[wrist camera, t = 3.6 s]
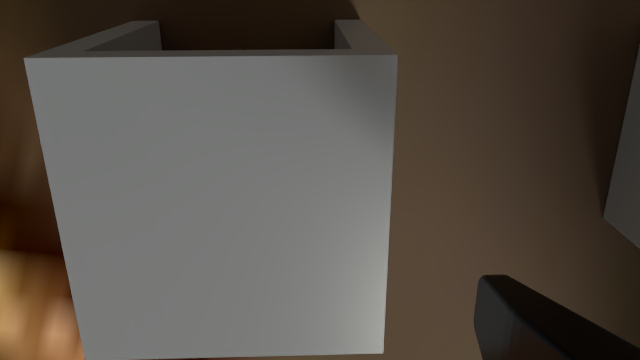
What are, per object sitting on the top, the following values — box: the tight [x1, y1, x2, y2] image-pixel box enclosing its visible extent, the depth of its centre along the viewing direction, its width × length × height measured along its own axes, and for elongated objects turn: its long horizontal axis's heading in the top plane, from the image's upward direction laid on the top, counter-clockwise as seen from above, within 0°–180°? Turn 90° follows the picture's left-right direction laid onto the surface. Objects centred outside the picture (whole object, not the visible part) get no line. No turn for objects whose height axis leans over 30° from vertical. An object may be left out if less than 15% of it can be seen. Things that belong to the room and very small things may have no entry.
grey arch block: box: [24, 19, 398, 360], centre depth 15 cm, size 7×7×7 cm
